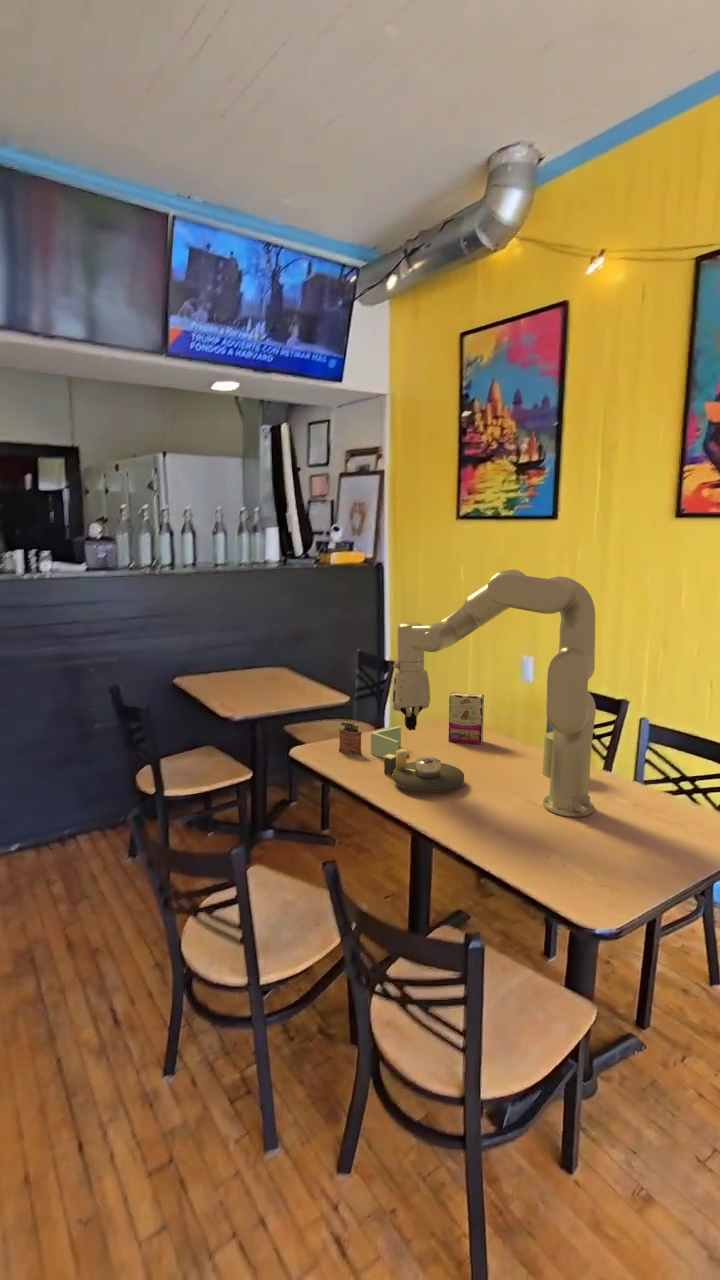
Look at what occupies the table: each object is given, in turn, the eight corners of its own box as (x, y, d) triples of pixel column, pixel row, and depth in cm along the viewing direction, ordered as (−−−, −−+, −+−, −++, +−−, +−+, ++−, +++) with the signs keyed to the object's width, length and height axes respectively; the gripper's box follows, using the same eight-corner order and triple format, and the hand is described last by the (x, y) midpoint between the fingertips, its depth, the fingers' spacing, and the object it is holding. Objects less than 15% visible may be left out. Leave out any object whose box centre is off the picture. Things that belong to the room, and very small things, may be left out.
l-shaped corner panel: (396, 765, 209) (396, 742, 207) (370, 755, 218) (371, 732, 217) (424, 757, 216) (424, 734, 215) (398, 748, 225) (398, 726, 224)
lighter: (363, 753, 218) (363, 723, 216) (357, 756, 215) (358, 725, 214) (342, 749, 222) (342, 719, 221) (336, 751, 219) (336, 721, 218)
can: (578, 779, 197) (580, 739, 195) (546, 779, 197) (548, 739, 195) (569, 768, 206) (571, 730, 204) (538, 768, 206) (540, 729, 204)
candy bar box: (482, 740, 232) (484, 693, 230) (481, 745, 228) (483, 697, 225) (450, 737, 235) (451, 691, 233) (447, 741, 231) (449, 694, 228)
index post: (396, 773, 201) (396, 755, 200) (391, 775, 199) (391, 758, 198) (388, 771, 202) (389, 753, 201) (383, 773, 200) (384, 756, 199)
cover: (443, 773, 193) (444, 759, 192) (435, 781, 187) (435, 766, 186) (420, 769, 196) (420, 755, 195) (411, 777, 189) (411, 762, 189)
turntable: (473, 773, 197) (474, 752, 196) (449, 797, 179) (449, 773, 178) (410, 762, 206) (410, 741, 205) (380, 783, 188) (381, 761, 187)
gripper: (390, 670, 188) (391, 735, 191) (440, 666, 192) (440, 729, 195) (381, 665, 195) (381, 728, 198) (429, 662, 199) (429, 723, 202)
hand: (410, 728), depth 196 cm, fingers closed
